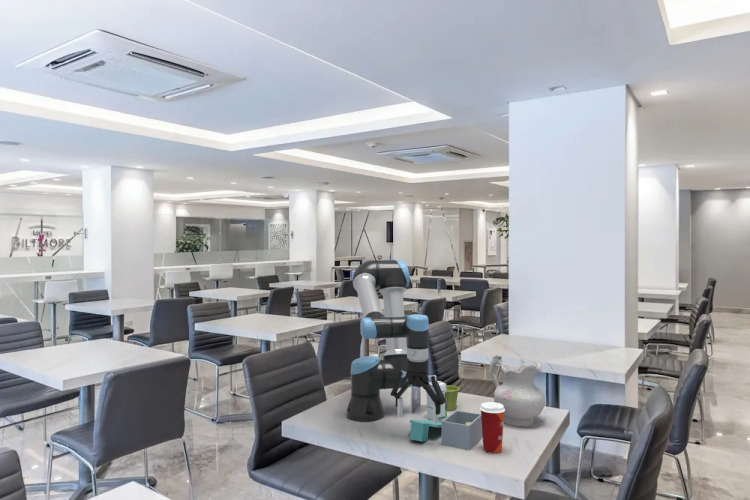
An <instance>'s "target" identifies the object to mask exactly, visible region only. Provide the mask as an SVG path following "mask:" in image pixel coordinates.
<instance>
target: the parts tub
mask: <svg viewBox="0 0 750 500" xmlns="http://www.w3.org/2000/svg"><path fill="white" fill-rule="evenodd" d="M441 422H442V427H441V445H442V446H448V447H453V448H457V449H463V450H468V451H470V450H471V449H472V448H473V447H474V446H475V445H476V444H478V443H479V441H480V440H481V439H483V436H482V420H481V413H476V412H469V411H463V410H457V409H456V410H454V411H453V412H452V413H451V414H450V415H447V418H445V419H444V420H442V421H441Z"/></svg>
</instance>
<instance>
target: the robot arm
mask: <svg viewBox="0 0 750 500" xmlns="http://www.w3.org/2000/svg"><path fill="white" fill-rule="evenodd" d="M410 278H411V277H410V271H409V267H408V265H407V263H406V262H405V261H404V260H401V259H400V260H398V259H397V260H396V259H386V260H385V259H383V260H382V259H378V260H377V259H376V260H375V259H371V260H370V259H369V260H366V261H364V262H362V263H361V264H359V265H358V267H356V268H355V270H354V272H353V274H352V285H353V289H354V290H355V291H356V293H357V297H358V300H359V301H358V302H359V304H360V308H361V313H362V316H363V317H362V318H361V319H360V323H359V326H360V327H359V329H360V335H361V338H362V339H367V340H368V339H371V340H375V339H385V349H386V351H385V353H384V354H383V359H381V358H380V357H379V356H377V355H372V356H371V355H368V356H363V357H362V356H361V357H358V358H356V359H354V360H352V362H351V365H350V399H349V402H348V405H347V409H346V417H347V416H348V417H349V418H351V419H350V420H352V419H353V421H356V420H358V421H357V422H373V421H379V420H381V419H383V418H384V417H385V409H384V406H383V402H382V399H381V397H380V393H381V392H380V390H390V389H391V391H390V393H389V394H390V396H391V397H394V398H395V399H394V401H395V407H396V408H397V418H402V417H403V416H404V397H403V396H402V395H403V394H404V393H405V392H406V391H407V390H408V388H411V387H418V388H422V389H423V390H425V392H426V394H427V393H428V395H429V396H430V398H431V399H432V401H433V402H434V403H435V404H434V405H433V424H434V425H435V424H436V423H438V422H439V421H438V415H439V414H440V412H441V411H440V410H441V405H442V404H444V403H445V402H446V400H445V397H444V395H443V393H442V390H441V388H440V386H439V383H438V381H439V380H438V376H437V375H436V374H434V375H430V374H429V360H428V359H429V329H430V324H429V317H428V315H425V314H416V313H414V314H405V303H404V293H405V292H406V291H407V287H409V286H410ZM376 288H378V289H379V293H380V294H381V295H382V297H383V298H382V299H383V309H382V305H381V303H380V299H379V295H378V292H377V289H376ZM428 380H429V381H428ZM429 382H432V386H433V388H434V390H435V392H434V391H433V389H432V388H431V386H430V384H429ZM435 393H436V394H435ZM383 416H384V417H383ZM348 417H347V418H348ZM382 417H383V418H382ZM349 418H348V419H349ZM380 418H381V419H380Z"/></svg>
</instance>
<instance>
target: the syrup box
mask: <svg viewBox="0 0 750 500" xmlns="http://www.w3.org/2000/svg"><path fill="white" fill-rule="evenodd" d="M437 381H438V383H439V386H440V388H441V390H442V393H443V395H444V397H445V400H446V402H445V403H444V404H442V405H441V410H440V411H441V412H440V414H439V415H438V422H442V421H443V420H444V419H445V418H447V417H448V413H447V412H448V410H447V399H446V385H447V383H446V382H443V381H441V380H440V381H439V380H437ZM428 382H429V384H430V386H431V388H432V389H433V391H434V392H435V390H434V388H433V386H432V382H430V381H428ZM435 394H436V393H435ZM434 404H435V403H434V402H433V401H432V399H431V398H430V396H429V395H428V393H427V392H426V418H427V420H432V421H433V405H434Z"/></svg>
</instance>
